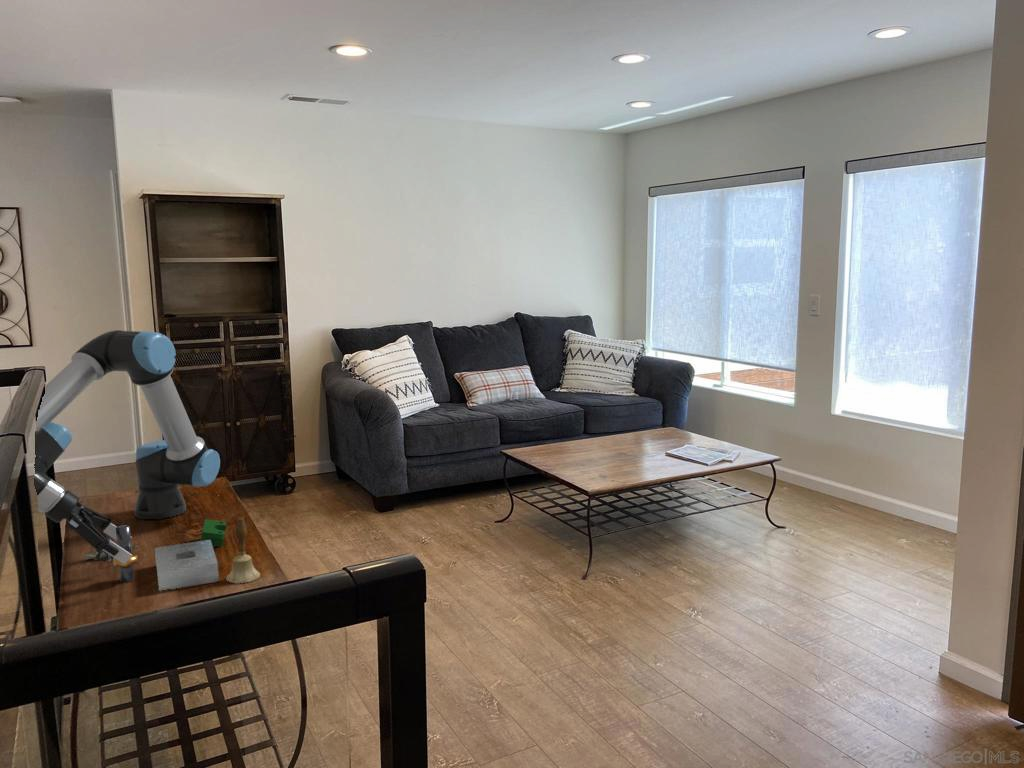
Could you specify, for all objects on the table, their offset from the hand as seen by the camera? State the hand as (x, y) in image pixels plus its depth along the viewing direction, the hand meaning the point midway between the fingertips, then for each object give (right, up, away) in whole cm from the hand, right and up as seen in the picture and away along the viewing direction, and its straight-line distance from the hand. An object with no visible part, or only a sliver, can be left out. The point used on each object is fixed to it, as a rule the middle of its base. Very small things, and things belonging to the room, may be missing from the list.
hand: (128, 550), depth 199 cm
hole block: (+13, -7, +6) cm, 16 cm away
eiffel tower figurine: (-14, -6, +17) cm, 23 cm away
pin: (-1, -8, +1) cm, 8 cm away
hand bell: (+28, -8, +3) cm, 29 cm away
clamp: (+12, -4, +26) cm, 29 cm away
